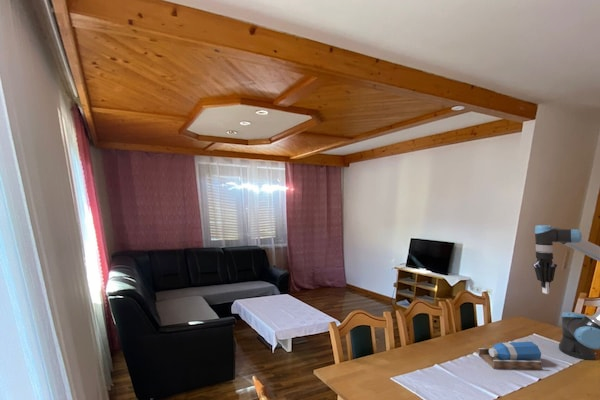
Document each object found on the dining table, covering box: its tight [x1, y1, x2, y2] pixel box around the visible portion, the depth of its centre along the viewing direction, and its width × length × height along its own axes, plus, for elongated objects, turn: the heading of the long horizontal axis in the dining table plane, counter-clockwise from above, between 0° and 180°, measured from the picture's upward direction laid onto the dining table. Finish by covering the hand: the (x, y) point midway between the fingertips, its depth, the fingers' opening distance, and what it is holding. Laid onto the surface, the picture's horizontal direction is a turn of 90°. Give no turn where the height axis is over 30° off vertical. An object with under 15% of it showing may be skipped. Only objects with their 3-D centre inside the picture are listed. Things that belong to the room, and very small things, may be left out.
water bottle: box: [489, 341, 542, 361], centre depth 152 cm, size 9×9×25 cm
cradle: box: [478, 347, 543, 371], centre depth 151 cm, size 24×13×4 cm, turn 89°
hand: (545, 293), depth 159 cm, fingers closed
